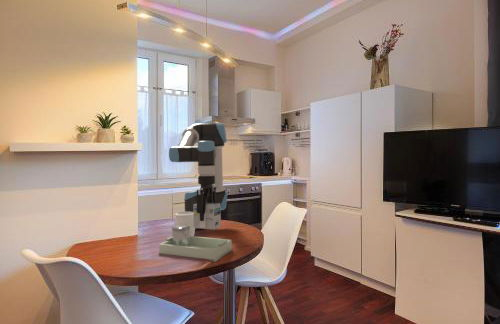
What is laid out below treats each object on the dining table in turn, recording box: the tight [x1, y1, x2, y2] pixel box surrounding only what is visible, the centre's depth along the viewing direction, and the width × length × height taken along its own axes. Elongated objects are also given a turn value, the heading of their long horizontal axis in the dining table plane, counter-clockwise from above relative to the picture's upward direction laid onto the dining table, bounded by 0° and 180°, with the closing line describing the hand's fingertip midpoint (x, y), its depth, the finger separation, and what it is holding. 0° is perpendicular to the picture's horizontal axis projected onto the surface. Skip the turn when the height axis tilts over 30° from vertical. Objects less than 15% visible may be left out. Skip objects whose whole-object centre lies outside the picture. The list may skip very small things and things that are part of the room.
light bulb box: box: [193, 203, 222, 230], centre depth 140 cm, size 11×7×11 cm, turn 71°
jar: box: [174, 211, 196, 236], centre depth 161 cm, size 11×10×15 cm
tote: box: [158, 235, 233, 263], centre depth 142 cm, size 17×28×6 cm, turn 69°
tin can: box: [171, 225, 190, 247], centre depth 145 cm, size 8×8×10 cm
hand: (207, 226), depth 140 cm, fingers closed on light bulb box, 7 cm apart
